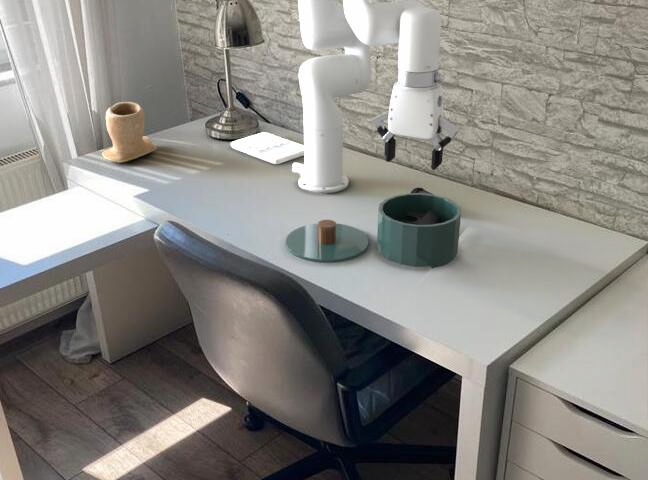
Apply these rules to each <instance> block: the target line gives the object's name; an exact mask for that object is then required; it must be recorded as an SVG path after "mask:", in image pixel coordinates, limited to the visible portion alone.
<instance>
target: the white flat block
mask: <svg viewBox="0 0 648 480" xmlns="http://www.w3.org/2000/svg"><path fill="white" fill-rule="evenodd" d="M230 147H231V148H232V149H234V150H236V151H238V152H241V153H243V154H246V155H249V156H252V157H255V158H257V159H260V160H262V161H265V162H267V163H271V164H272V165H279V164H282V163H285V162H289V161H291V160H294V159H297V158H300V157H303V156H304V144H301V143H298V142H295V141H293V140H290V139H286V138H284V137H281V136H278V135H275V134H272V133H269V132H267V131H266V132H265V131H262V132H260V133H256V134H251V135H249V136H246V137H243V138H239V139H236V140H234V141H231V142H230Z"/></svg>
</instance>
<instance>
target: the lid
mask: <svg viewBox="0 0 648 480" xmlns="http://www.w3.org/2000/svg"><path fill="white" fill-rule="evenodd" d="M284 241H285V248H286V249H287V251H288V253H290V254H292V255H293V256H295V257H298V258H299V259H302V260H306V261H311V262H317V263H338V262H343V261H348V260H352V259H354V258H357V257H359V256H360V255H362V254H364V252H366V251H367V249H368V247H369V238H368V236H367V234H366V233H364V232H363V231H362V230H361V229H358V228H357V227H353V226H351V225H349V224H342V223H337V222H336V221H335V220H333V219H322V220H319V221H318V222H317V223H311V224H307V225H306V224H305V225H303V226H300V227H298V228H296V229H293V231H290V232H289V233H288V234H287V236H286V238H285V240H284Z"/></svg>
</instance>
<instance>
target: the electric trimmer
mask: <svg viewBox="0 0 648 480" xmlns="http://www.w3.org/2000/svg"><path fill="white" fill-rule="evenodd" d="M410 193H424V194H432V195H435V194H434V193H432V192H430V191H427V190H426V189H424V188H423V187H415V188H413V189H412V190H411V191H410Z"/></svg>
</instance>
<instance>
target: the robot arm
mask: <svg viewBox="0 0 648 480" xmlns="http://www.w3.org/2000/svg"><path fill="white" fill-rule="evenodd" d="M297 5H298V16H299V25H300V26H299V27H300V34H301V40H302V43H303V45H304V47H305V48H306V49H308V50H310V51H327V50H334V49H343V48H344V51H345V53H339V54H331V55H323V56H322V55H321V56H316V57H312V58H309V59H307V60H306V61H304V62H303V63H302V64H301V65H300V67H299V70H298V82H299V87H300V94H301V99H302V100H301V101H302V108H303V109H302V110H303V111H302V113H303V145H304V155H303V156H304V157H303V159H304V161H303V163H301V162H296V161H294V162H293V163H292V165H291V167H292V168H291V173H294V174H299V175H300V177H299V178H298V186H299V188H301V189H302V190H306V191H310V192H316V193H319V194H320V193H321V194H331V193H337V192H341V191H344V189H346V188H348V186H349V178H348V177H347V176H346V175H345V174H343V162H344V161H343V159H344V158H343V157H344V154H343V153H344V150H343V149H344V147H343V146H344V141H343V140H344V116H343V112H342V110H341V108H340V107H339V106H338V105H337V103H336V102H335V101H334V99H335V98H338V97H343V96H344V97H345V96H351V95H356V94H357V95H358V94H361V93H364V92H366V91H368V89H369V88H370V85H371V82H372V76H373V75H372V72H373V71H372V54H371V47H376V46H383V45H392V44H398V59H397V80H396V81H395V83H394V84H393V88H392V92H391V95H390V102H389V109H388V111H385V112H383V113H380V114H378V115H376V116H374V117H373V118H372V120H373V123H374V125H375V128H376V131H377V133H378V134H379V136H380V137H381V138H382V142H383V143H384V156H385V162H386V163H389V162H391V161H392V160H394V159H395V158H396V148H397V147H396V146H397V140H396V138H395V136H400V137H405V138H406V137H407V138H411V139H412V138H414V139H419V140H427V141H429V142H430V143H431V144H432V146H433V148H434V149H432V151H431V163H430V165H431V166H430V169H431V170H433V171H435V170H436V169H438V168H439V167H440V166H441V165H442V164H443V156H444V148H445V147H446V146H447V145H449V144H450V143H451V142H452V141H453V139H454V138H455V137H456V135H457V134H458V132H459V128H458V127H457V126H456V125H454V124H453V123H452V122H450V121H448V119H446V118H444V96H443V95H444V94H443V87H442V85H441V84H439V83H444V82H445V79H446V76H445V74H442V73H441V72H440V69H439V61H440V48H441V47H440V46H441V32H442V15H441V13H440V12H439V11H438V10H437V9H435V8H430V7H426V6H425V5H424V4H423V3H422V2H420V1H418V0H399V1H387V2H385V1H384V2H378V3H370V2H369V1H368V0H343V4H337V2H336V0H297ZM386 120H387V127H386V126H385V124H384V121H386ZM443 130H445V131H446V132H447V135H446V136H445V137H444V138H443V137H442V135H441V133H443Z"/></svg>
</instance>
